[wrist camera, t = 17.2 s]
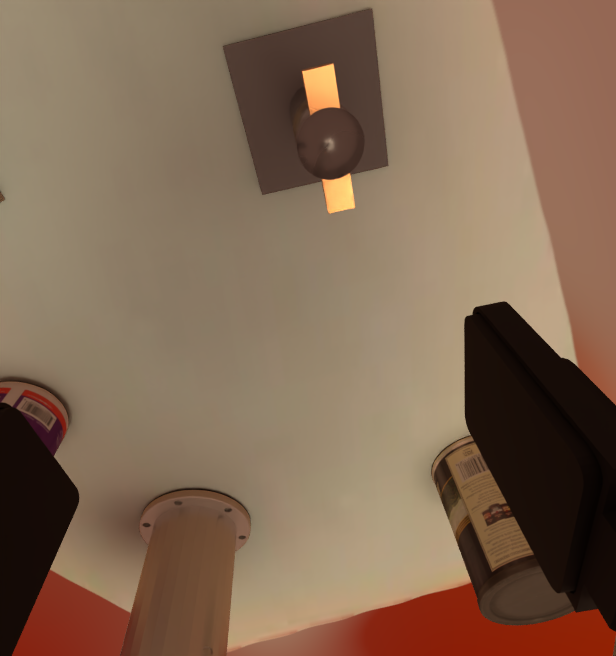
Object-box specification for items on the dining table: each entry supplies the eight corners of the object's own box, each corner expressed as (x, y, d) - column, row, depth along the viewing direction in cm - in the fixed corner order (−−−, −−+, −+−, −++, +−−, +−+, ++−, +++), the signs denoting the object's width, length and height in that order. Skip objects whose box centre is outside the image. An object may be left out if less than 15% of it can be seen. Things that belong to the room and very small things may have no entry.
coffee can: (475, 503, 53) (532, 635, 41) (412, 475, 49) (455, 611, 37) (542, 453, 48) (628, 584, 37) (478, 418, 45) (550, 551, 33)
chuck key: (324, 54, 26) (354, 58, 16) (339, 150, 29) (372, 203, 19) (279, 65, 27) (281, 76, 17) (299, 159, 30) (311, 217, 20)
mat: (387, 164, 31) (388, 165, 30) (262, 193, 31) (262, 194, 31) (370, 8, 26) (372, 8, 25) (223, 46, 26) (222, 46, 26)
